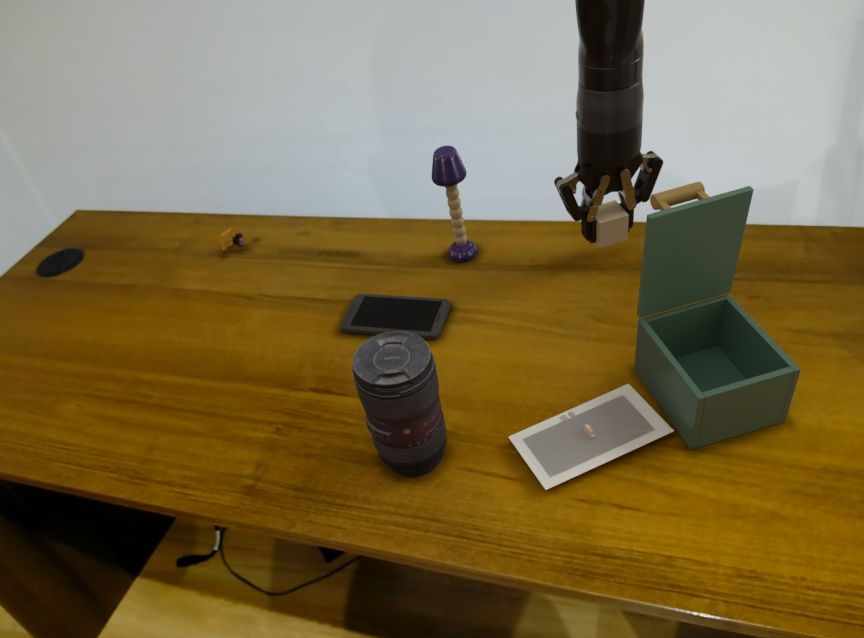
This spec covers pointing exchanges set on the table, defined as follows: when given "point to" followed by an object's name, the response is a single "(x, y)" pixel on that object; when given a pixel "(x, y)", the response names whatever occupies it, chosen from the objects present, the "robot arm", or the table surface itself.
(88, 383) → the table surface
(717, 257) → the lid
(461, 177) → the toy lamp
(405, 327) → the cell phone
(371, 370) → the camera lens
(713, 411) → the chest
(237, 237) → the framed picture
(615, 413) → the touchpad
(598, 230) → the block
